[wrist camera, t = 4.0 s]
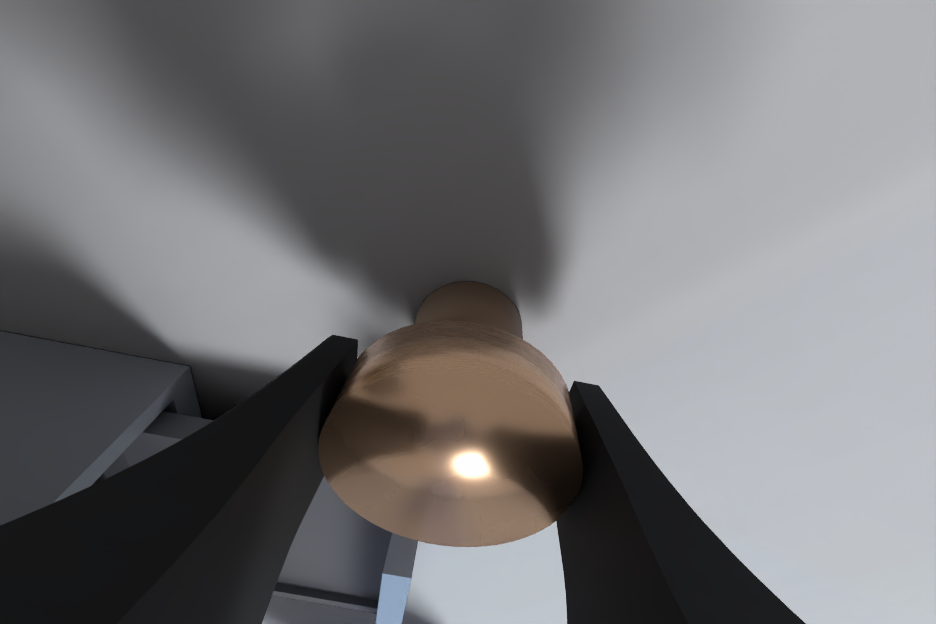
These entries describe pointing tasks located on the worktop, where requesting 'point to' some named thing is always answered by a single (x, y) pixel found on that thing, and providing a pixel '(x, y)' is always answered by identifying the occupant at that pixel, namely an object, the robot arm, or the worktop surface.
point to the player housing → (74, 415)
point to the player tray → (315, 541)
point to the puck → (453, 436)
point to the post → (471, 306)
